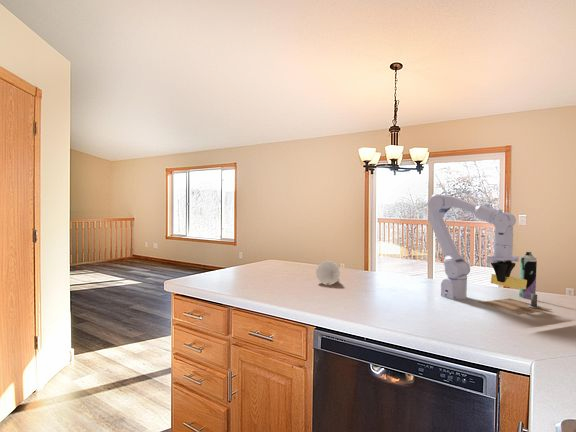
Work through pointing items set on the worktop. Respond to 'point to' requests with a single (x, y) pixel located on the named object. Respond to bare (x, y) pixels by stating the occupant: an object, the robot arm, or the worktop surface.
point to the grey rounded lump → (328, 272)
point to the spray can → (528, 275)
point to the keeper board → (516, 305)
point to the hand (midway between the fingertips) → (502, 281)
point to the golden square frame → (510, 282)
